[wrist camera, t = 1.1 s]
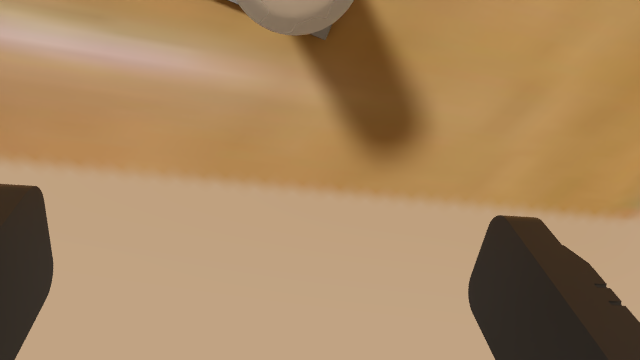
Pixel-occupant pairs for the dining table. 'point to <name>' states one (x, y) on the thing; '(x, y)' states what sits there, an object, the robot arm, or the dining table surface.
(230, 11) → the dining table surface
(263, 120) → the dining table surface
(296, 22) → the steel billet
